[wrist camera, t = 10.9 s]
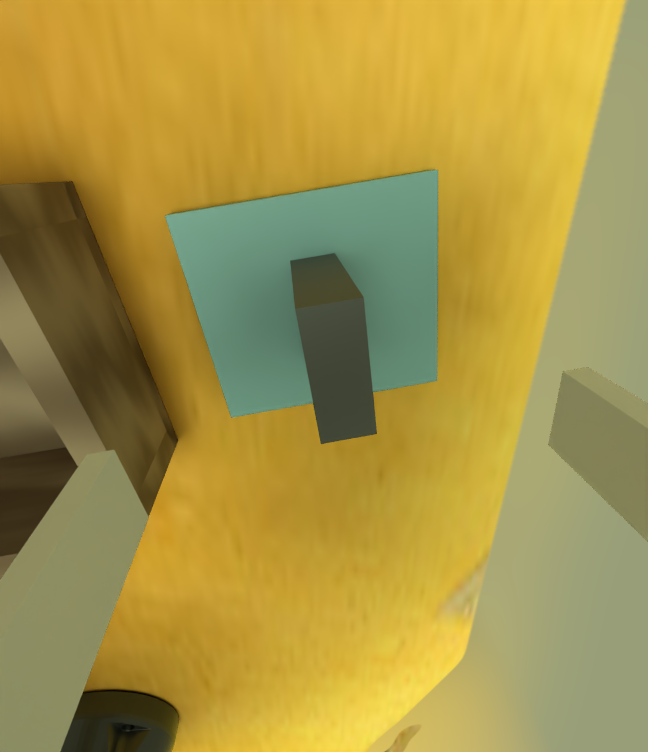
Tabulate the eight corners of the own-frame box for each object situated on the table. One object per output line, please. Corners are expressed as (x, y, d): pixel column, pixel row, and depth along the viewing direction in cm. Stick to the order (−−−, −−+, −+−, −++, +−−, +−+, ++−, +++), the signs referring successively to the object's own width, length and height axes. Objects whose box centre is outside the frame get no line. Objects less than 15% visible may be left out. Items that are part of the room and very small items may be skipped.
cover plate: (429, 370, 26) (499, 464, 17) (233, 405, 25) (211, 517, 17) (428, 169, 20) (534, 168, 11) (172, 213, 19) (92, 243, 11)
